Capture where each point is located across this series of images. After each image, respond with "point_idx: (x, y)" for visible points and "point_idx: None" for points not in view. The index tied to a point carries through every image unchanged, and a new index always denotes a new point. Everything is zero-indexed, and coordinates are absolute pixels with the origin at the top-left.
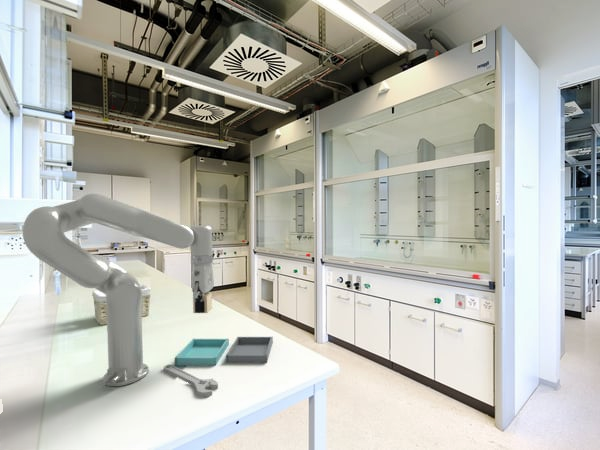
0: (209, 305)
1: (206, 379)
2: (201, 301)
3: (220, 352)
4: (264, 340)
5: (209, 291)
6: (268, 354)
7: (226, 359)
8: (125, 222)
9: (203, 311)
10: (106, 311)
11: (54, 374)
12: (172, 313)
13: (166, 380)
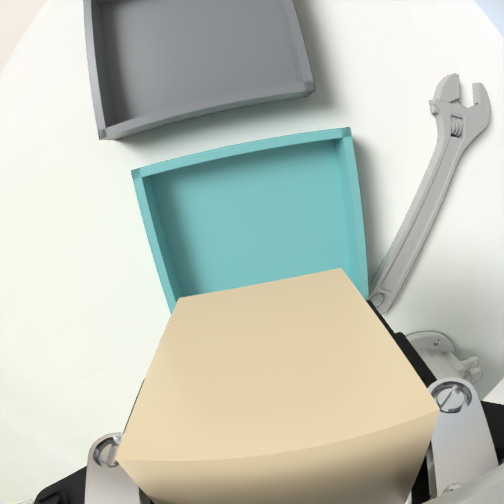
0: (265, 316)
1: (443, 118)
2: (457, 388)
3: (277, 137)
4: (97, 22)
5: (93, 494)
6: None
7: (311, 92)
8: None
9: (371, 307)
10: None
11: None
12: (37, 459)
13: (434, 258)
